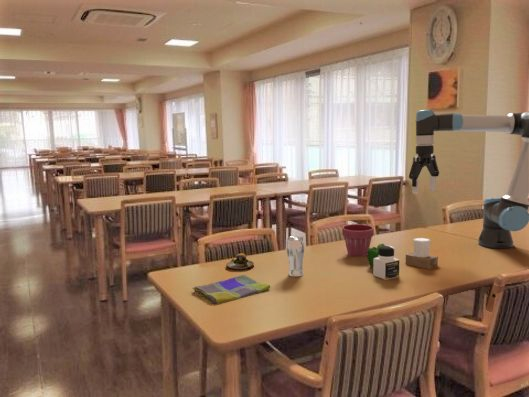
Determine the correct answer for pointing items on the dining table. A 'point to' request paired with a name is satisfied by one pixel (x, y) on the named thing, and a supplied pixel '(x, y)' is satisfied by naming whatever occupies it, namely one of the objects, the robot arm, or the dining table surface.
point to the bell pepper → (373, 254)
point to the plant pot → (357, 239)
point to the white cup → (421, 247)
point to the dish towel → (231, 289)
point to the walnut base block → (422, 261)
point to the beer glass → (295, 255)
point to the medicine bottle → (386, 263)
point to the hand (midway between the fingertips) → (424, 192)
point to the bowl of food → (240, 262)
